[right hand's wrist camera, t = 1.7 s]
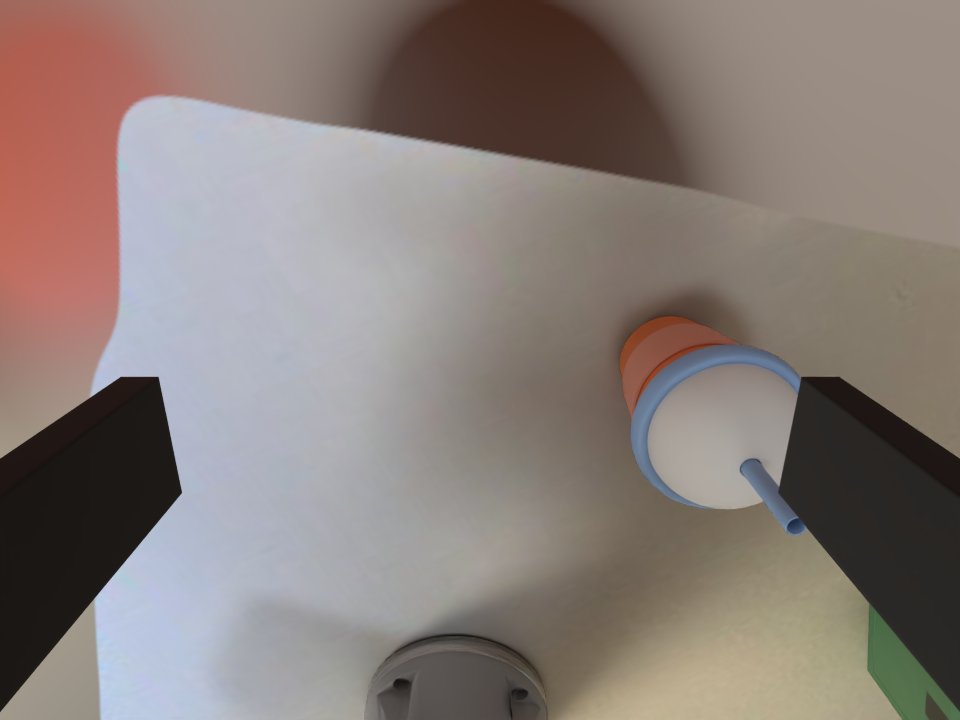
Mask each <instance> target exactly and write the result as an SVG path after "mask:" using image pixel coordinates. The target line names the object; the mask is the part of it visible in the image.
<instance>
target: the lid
mask: <svg viewBox="0 0 960 720" xmlns="http://www.w3.org/2000/svg"><path fill="white" fill-rule="evenodd" d="M950 720H960V712H959V710H958V709H957V708H956V707H955V706H954V704H953V703H952V705H951V715H950Z"/></svg>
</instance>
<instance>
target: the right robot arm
mask: <svg viewBox="0 0 960 720" xmlns="http://www.w3.org/2000/svg"><path fill="white" fill-rule="evenodd" d="M181 493H182V490H181V485H180V480H179V476H178V471H177V466H176V461H175V456H174V451H173V446H172V441H171V436H170V431H169V426H168V421H167V416H166V411H165V407H164V402H163V397H162V392H161V387H160V382H159V377H120V378H119V379H117V380H116V381H114V382H113V383H111V384H110V385H108V386H107V387H105V388H104V389H102V390H101V391H99V392H98V393H96V394H95V395H94V396H92V397H91V398H89V399H88V400H86V401H85V402H83V403H82V404H80V405H79V406H77V407H76V408H74V409H73V410H71V411H70V412H68V413H67V414H65V415H64V416H63V417H61V418H60V419H58V420H57V421H55V422H54V423H52V424H51V425H49V426H48V427H46V428H45V429H43V430H42V431H40V432H39V433H37V434H36V435H35V436H33V437H32V438H30V439H29V440H27V441H26V442H24V443H23V444H21V445H20V446H18V447H17V448H15V449H14V450H12V451H11V452H9V453H8V454H7V455H5V456H4V457H2V458H1V459H0V712H1V710H2V709H3V708H4V707H5V706H6V704H7V703H8V702H9V701H10V700H11V698H12V697H13V696H14V695H15V694H16V692H17V691H18V690H19V689H20V687H21V686H22V685H23V684H24V683H25V681H26V680H27V679H28V678H29V677H30V675H31V674H32V673H33V672H34V671H35V669H36V668H37V667H38V666H39V665H40V663H41V662H42V661H43V660H44V659H45V657H46V656H47V655H48V654H49V653H50V651H51V650H52V649H53V648H54V646H55V645H56V644H57V643H58V642H59V641H60V639H61V638H62V637H63V636H64V634H65V633H66V632H67V631H68V630H69V628H70V627H71V626H72V625H73V624H74V622H75V621H76V620H77V619H78V618H79V616H80V615H81V614H82V613H83V612H84V610H85V609H86V608H87V607H88V606H89V604H90V603H91V602H92V601H93V600H94V598H95V597H96V596H97V595H98V594H99V592H100V591H101V590H102V589H103V587H104V586H105V585H106V584H107V583H108V581H109V580H110V579H111V578H112V577H113V575H114V574H115V573H116V572H117V571H118V569H119V568H120V567H121V566H122V565H123V563H124V562H125V561H126V560H127V559H128V557H129V556H130V555H131V554H132V553H133V551H134V550H135V549H136V548H137V547H138V545H139V544H140V543H141V542H142V540H143V539H144V538H145V537H146V536H147V534H148V533H149V532H150V531H151V530H152V528H153V527H154V526H155V525H156V524H157V522H158V521H159V520H160V519H161V518H162V516H163V515H164V514H165V513H166V512H167V510H168V509H169V508H170V507H171V506H172V504H173V503H174V502H175V501H176V500H177V498H178V497H179V496H180V495H181ZM778 493H779V495H780V496H781V497H782V498H783V500H784V501H785V502H786V503H787V504H788V506H789V507H790V508H791V509H792V510H793V512H794V513H795V514H796V515H797V516H798V518H799V519H800V520H801V521H802V522H803V524H804V525H805V526H806V527H807V528H808V530H809V531H810V532H811V533H812V534H813V536H814V537H815V538H816V539H817V540H818V542H819V543H820V544H821V545H822V547H823V548H824V549H825V550H826V551H827V553H828V554H829V555H830V556H831V557H832V559H833V560H834V561H835V562H836V563H837V565H838V566H839V567H840V568H841V569H842V571H843V572H844V573H845V574H846V575H847V577H848V578H849V579H850V580H851V581H852V583H853V584H854V585H855V586H856V587H857V589H858V590H859V591H860V592H861V594H862V595H863V596H864V597H865V598H866V600H867V601H868V602H869V603H870V604H871V606H872V607H873V608H874V609H875V610H876V612H877V613H878V614H879V615H880V616H881V618H882V619H883V620H884V621H885V622H886V624H887V625H888V626H889V627H890V628H891V630H892V631H893V632H894V633H895V634H896V636H897V637H898V638H899V639H900V641H901V642H902V643H903V644H904V645H905V647H906V648H907V649H908V650H909V651H910V653H911V654H912V655H913V656H914V657H915V659H916V660H917V661H918V662H919V663H920V665H921V666H922V667H923V668H924V669H925V671H926V672H927V673H928V674H929V675H930V677H931V678H932V679H933V680H934V681H935V683H936V684H937V685H938V686H939V688H940V689H941V690H942V691H943V692H944V694H945V695H946V696H947V697H948V698H949V700H950V701H951V702H952V703H953V704H954V706H955V707H956V708H957V709H958V710H959V712H960V459H959V458H958V457H957V456H955V455H954V454H952V453H951V452H949V451H948V450H946V449H945V448H943V447H942V446H940V445H939V444H937V443H936V442H934V441H933V440H931V439H930V438H928V437H927V436H926V435H924V434H923V433H921V432H920V431H918V430H917V429H915V428H914V427H912V426H911V425H909V424H908V423H906V422H905V421H903V420H902V419H900V418H899V417H897V416H896V415H895V414H893V413H892V412H890V411H889V410H887V409H886V408H884V407H883V406H881V405H880V404H878V403H877V402H875V401H874V400H872V399H871V398H869V397H868V396H866V395H865V394H864V393H862V392H861V391H859V390H858V389H856V388H855V387H853V386H852V385H850V384H849V383H847V382H846V381H844V380H843V379H841V378H840V377H801V382H800V387H799V392H798V397H797V402H796V407H795V411H794V416H793V421H792V426H791V431H790V436H789V441H788V446H787V451H786V456H785V461H784V466H783V471H782V476H781V480H780V485H779V490H778ZM365 720H547V706H546V697H545V691H544V688H543V685H542V682H541V680H540V678H539V676H538V675H537V673H536V672H535V670H534V669H533V668H532V667H531V666H530V665H529V663H528V662H527V661H525V660H524V659H523V658H522V657H521V656H519V655H518V654H516V653H515V652H513V651H511V650H510V649H508V648H506V647H504V646H502V645H499V644H497V643H494V642H491V641H488V640H484V639H479V638H474V637H466V636H444V637H436V638H431V639H426V640H423V641H419V642H416V643H414V644H411V645H409V646H407V647H405V648H403V649H401V650H399V651H398V652H396V653H395V654H393V655H392V656H391V657H389V658H388V659H387V660H386V661H385V662H384V663H383V664H382V665H381V666H380V667H379V669H378V670H377V672H376V673H375V675H374V677H373V679H372V681H371V683H370V687H369V691H368V696H367V701H366V705H365Z"/></svg>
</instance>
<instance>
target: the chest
mask: <svg viewBox="0 0 960 720" xmlns="http://www.w3.org/2000/svg"><path fill="white" fill-rule="evenodd" d="M868 671H869V673H870V674H871V676H872V677H873V679H874V680H875V681H876V683H877V684H878V686H879V687H880V689H881V690H882V691H883V693H884V694H885V696H886V697H887V698H888V700H889V701H890V703H891V704H892V706H893V707H894V708H895V710H896V711H897V713H898V714H899V715H900V717H901V718H902V720H950V715H951V705H952V702H951V701H950V700H949V698H948V697H947V696H946V695H945V694H944V692H943V691H942V690H941V689H940V688H939V686H938V685H937V684H936V683H935V681H934V680H933V679H932V678H931V677H930V675H929V674H928V673H927V672H926V671H925V669H924V668H923V667H922V666H921V665H920V663H919V662H918V661H917V660H916V659H915V657H914V656H913V655H912V654H911V653H910V651H909V650H908V649H907V648H906V647H905V645H904V644H903V643H902V642H901V641H900V639H899V638H898V637H897V636H896V634H895V633H894V632H893V631H892V630H891V628H890V627H889V626H888V625H887V624H886V622H885V621H884V620H883V619H882V618H881V616H880V615H879V614H878V613H877V612H876V610H875V609H874V608H873V607H872V606H871V604H870V613H869V644H868Z"/></svg>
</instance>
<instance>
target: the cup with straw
mask: <svg viewBox="0 0 960 720" xmlns="http://www.w3.org/2000/svg"><path fill="white" fill-rule="evenodd" d="M620 371H621V375H622V379H623V391H624V396H625V399H626V403H627V406H628V410H629V413H630V416H631V420H632V422H631V445H632V450H633V453H634V457H635V459H636V462H637V464H638V466H639V468H640V470H641V471H642V473H643V474H644V476H645V477H646V478H647V480H648V481H649V482H650V483H651V484H652V485H653V486H654V487H655V488H656V489H657V490H659V491H660V492H661V493H663V494H664V495H666V496H667V497H669V498H671V499H673V500H675V501H677V502H680V503H682V504H685V505H689V506H693V507H698V508H707V509H738V508H744V507H748V506H752V505H755V504H758V503H761V502H763V501H764V503H765V504H766V505H767V507H768V508H769V509H770V511H771V512H772V514H773V515H774V516H775V518H776V519H777V520H778V522H779V523H780V524H781V526H782V527H783V528H784V530H785V531H786V532H787V533H788V534H790V535H800V534H802V533H803V532H805V530H806V529H807V527H806V526H805V525H804V524H803V522H802V521H801V520H800V519H799V518H798V516H797V515H796V514H795V513H794V512H793V510H792V509H791V508H790V507H789V506H788V504H787V503H786V502H785V501H784V500H783V498H782V497H781V496H780V495H779V493H778V490H779V485H780V480H781V476H782V471H783V466H784V461H785V456H786V451H787V446H788V441H789V436H790V431H791V426H792V421H793V416H794V411H795V407H796V402H797V397H798V392H799V387H800V382H801V378H800V376H799V375H798V374H797V373H796V372H795V370H794V369H793V368H792V367H791V366H789V365H788V364H787V363H786V362H785V361H783V360H782V359H780V358H779V357H777V356H775V355H773V354H771V353H769V352H767V351H765V350H762V349H759V348H755V347H751V346H746V345H740V344H738V343H736V342H735V341H733V340H731V339H729V338H728V337H726V336H724V335H723V334H721V333H719V332H717V331H716V330H713V329H711V328H709V327H706V326H703V325H699V324H697V323H695V322H694V321H692V320H689V319H687V318H683V317H678V316H666V317H660V318H656V319H653V320H651V321H648V322H646V323H645V324H643V325H641V326H640V327H639V328H637V329H636V330H635V331H634V332H633V333H632V334H631V336H630V337H629V338H628V340H627V341H626V343H625V345H624V347H623V350H622V353H621V357H620Z"/></svg>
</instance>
